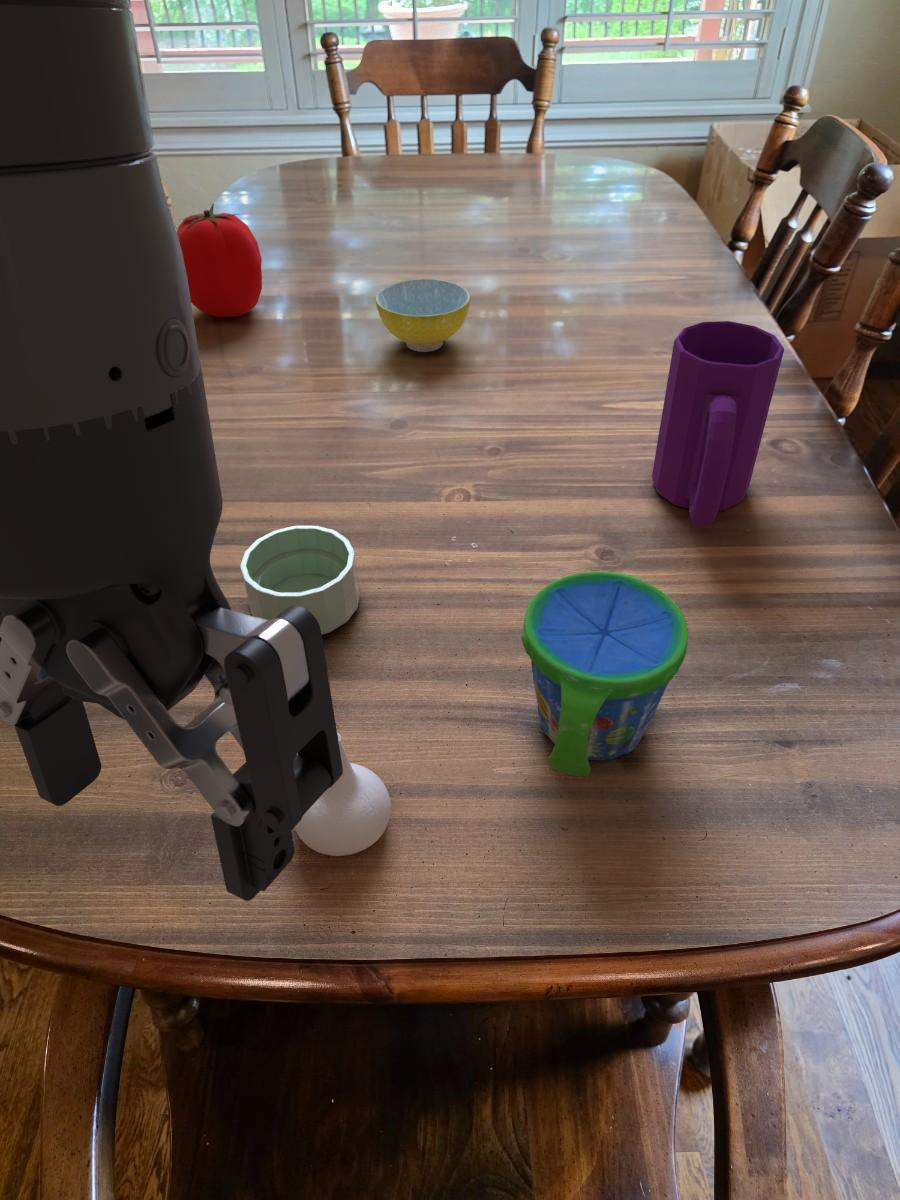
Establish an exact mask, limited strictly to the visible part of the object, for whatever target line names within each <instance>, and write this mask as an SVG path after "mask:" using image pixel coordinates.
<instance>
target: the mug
mask: <svg viewBox="0 0 900 1200" xmlns="http://www.w3.org/2000/svg"><path fill="white" fill-rule="evenodd" d="M784 352H785V347H784V346H783V344H782V343H781V341H780V340H779V338H778V337H777V336H776V335H775V334H773V333H771V332H769V331H766V330H764V329H762V328H761V327H758V326H756V325H753V324H747V323H741V322H735V321H731V320H721V321H718V320H717V321H701V322H698V323H695V324H691V325H689V326H687V327H683V328H682V329H681V331H680V332H679V333H678V335H677V336H676V337H675V339H674V340H673V346H672V352H671V358H670V363H669V370H668V376H667V382H666V388H665V394H664V398H663V399H664V400H663V406H662V412H661V418H660V423H659V430H658V436H657V443H656V448H655V454H654V460H653V466H652V473H651V479H652V482H653V485H654V487H655V489H656V493H657V494H659V495H660V496H661V497H663V498H664V499H666V500H667V501H669V502H670V503H671V504H672V505H674V506H677V507H680V508H685V509H689V510H688V512H689V519H690V522H691V524H692V525H693V526H694V527H697V528H700V529H701V528H707V527H709V526H710V525H711V524H713V522H714V520H715V519H716V517H717V515H718V512H719V511H724V510H727V509H729V508H731V507H734V506H736V505H738V504H740V503H742V502H743V500H744V498H745V495H746V493H747V492H748V489H749V487H750V485H751V480H752V477H753V473H754V469H755V466H756V461H757V458H758V453H759V450H760V445H761V441H762V438H763V434H764V430H765V427H766V422H767V419H768V414H769V410H770V406H771V403H772V399H773V395H774V391H775V387H776V384H777V380H778V376H779V372H780V368H781V364H782V360H783V356H784Z"/></svg>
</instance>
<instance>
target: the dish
mask: <svg viewBox="0 0 900 1200" xmlns="http://www.w3.org/2000/svg"><path fill="white" fill-rule="evenodd" d="M356 559H357V558H356V553H355V550H354V547H353V546H352V544H351V541H350V540H349V539H348V538H347V537H346V536H344V535H342V534H341V533H340V532H338V531H337V530H335V529H332V528H327V527H324V526H320V525H315V524H314V525H307V524H305V525H301V524H300V525H299V524H298V525H291V526H288V527H283V528H279V529H275V530H273V531H271V532H268V533H267V534H265V535H263V536H261V537H259V538H257V539H256V540H254V541H253V543H252V544H250V546H249V547H248V548H246V550H245V551H244V553H243V555H242V558H241V562H240V565H239V570H240V574H241V577H242V582H243V587H244V591H245V595H246V599H247V603H248V608H249V611H250V614H251V616H254V617H258V618H262V619H266V620H271V619H274V618H275V617H277V616H278V615H279V614H281V613H282V612H283V611H285V610H286V609H287V608H288V607H290V606H301V607H303V608H305V609H307V610H308V611H309V612H311V613H312V614H313V616H314V617H315V618H316V620H317V621H318V623H319V625H320V629H321V634H322V635H325V634H329V633H331V632H333V631H334V630H336V629H338V628H339V627H341V626H342V625H344V624H346V623H347V622H349V620H350V618H351V617H352V616H353V614H354V613H355V612H356V611H357V609H358V608H359V607H358V606H359V600H360V595H361V593H360V586H359V576H358V568H357V560H356Z"/></svg>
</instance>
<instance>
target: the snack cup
mask: <svg viewBox="0 0 900 1200" xmlns="http://www.w3.org/2000/svg"><path fill="white" fill-rule="evenodd" d="M522 630H523V631H522V634H521V641H522V642H521V643H522V646H523V649H524V650H525V653H526V654H527V655H528V657H529V659H530V660H531V661H530V664H531V672H532V678H533V685H534V686H533V687H534V692H535V698H536V703H537V713H538V716H539V719H540V724H541V729H542V732H543V734H544V735H546V736H547V737H548V738H549V740H550V741H551V742H552V743H553V744H554V746H553V749H552V751H551V752H550V754H549V755H550V756H549V757H548V761H549V765H550V767H551V768H553V769H554V770H556V771H558V772H560V773H562V774H566V775H567V774H568V775H572V776H576V777H587V776H588V775H589V774H591V770H592V769H591V765H590V762H589V761H605V760H613V759H614V760H615V759H617V758H618V757H620V756H623V755H628V754H630V753H631V752H632V751H634V750H635V749H636V748H637V746H638V745H639V743H640V741H641V740H642V738H644V735H645V732H646V731H647V729H648V727H649V726H650V724H651V721H652V719H653V717H654V715H655V714H656V710H657V709H658V707H659V704H660V702H661V700H662V698H663V696H664V694H665V691H666V690H667V687H668V685H669V682H671V680H672V679H673V678H674V677H675V675H676V674H677V673H678V672H679V670H680V668H681V666H682V665H683V663H684V660H685V657H686V654H687V650H688V645H689V629H688V623H687V619H686V617H685V615H684V614H683V612H682V611H681V609H680V607H679V606H678V605H677V604H676V602H674V601H673V599H671V597H670V596H669V595H668V594H666V593H665V592H663V591H662V590H661V589H659V588H658V587H656V586H655V585H652V584H651V583H649V582H646V581H644V580H642V578H641V577H637V576H634V575H630V574H626V573H622V572H616V571H585V572H578V573H573V574H569V575H566V576H563V577H561V578H557V579H555V580H553V581H552V582H550V583H548V584H546V585H545V586H544V587H542V588H541V589H540V590H538V591H537V593H536V594H535V595H534V596H533V597H532V598H531V600H530V601H529V603H528V605H527V607H526V610H525V614H524V619H523V627H522Z"/></svg>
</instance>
